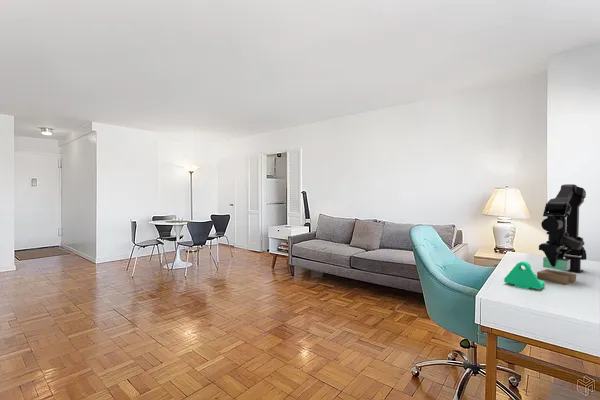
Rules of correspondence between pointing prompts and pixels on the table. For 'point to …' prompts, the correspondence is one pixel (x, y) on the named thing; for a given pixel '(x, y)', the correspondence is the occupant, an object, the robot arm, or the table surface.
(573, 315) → the table surface
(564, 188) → the robot arm
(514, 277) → the camera mount
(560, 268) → the block
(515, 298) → the table surface
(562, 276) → the stand
